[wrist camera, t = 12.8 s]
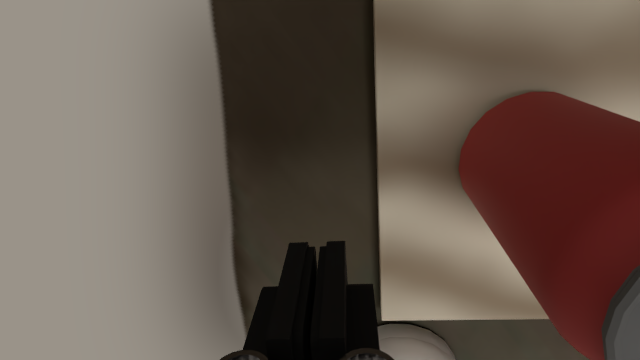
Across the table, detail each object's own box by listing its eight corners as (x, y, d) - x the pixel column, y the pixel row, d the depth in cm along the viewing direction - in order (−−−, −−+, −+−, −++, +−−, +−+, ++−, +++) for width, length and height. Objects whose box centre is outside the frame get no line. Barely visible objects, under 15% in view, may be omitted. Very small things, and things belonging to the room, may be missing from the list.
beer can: (477, 78, 18) (667, 168, 7) (618, 100, 18) (1024, 224, 7) (440, 204, 21) (541, 412, 10) (564, 224, 21) (806, 457, 10)
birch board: (372, -5, 19) (374, -6, 17) (748, -37, 17) (775, -41, 16) (380, 307, 25) (381, 320, 24) (651, 303, 24) (665, 317, 23)
